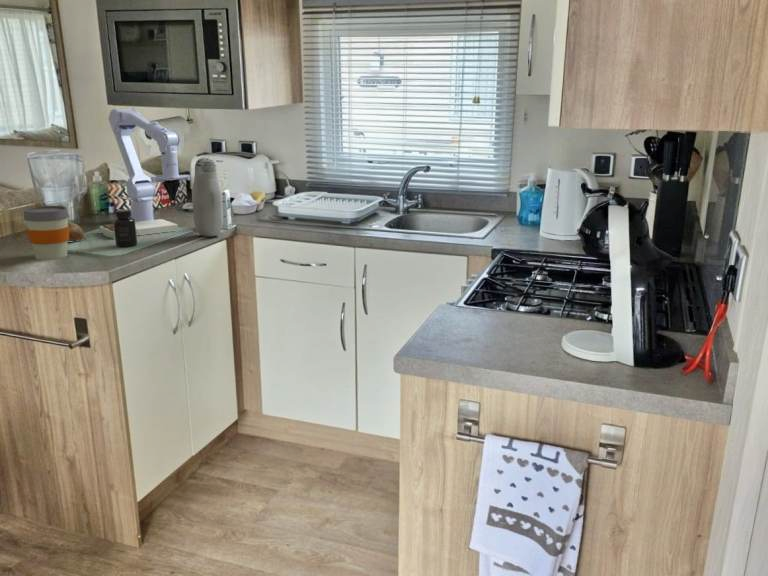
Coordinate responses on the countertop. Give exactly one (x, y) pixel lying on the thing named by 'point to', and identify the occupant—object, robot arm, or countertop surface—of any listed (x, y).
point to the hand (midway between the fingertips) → (172, 200)
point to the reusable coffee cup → (48, 231)
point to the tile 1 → (108, 226)
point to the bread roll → (75, 232)
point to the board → (155, 226)
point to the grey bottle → (207, 198)
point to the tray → (110, 232)
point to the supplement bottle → (125, 229)
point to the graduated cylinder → (226, 209)
